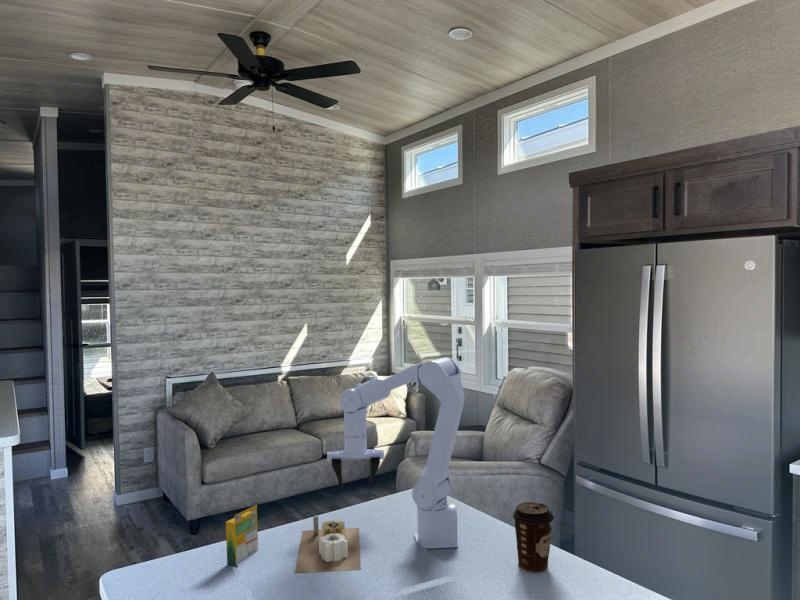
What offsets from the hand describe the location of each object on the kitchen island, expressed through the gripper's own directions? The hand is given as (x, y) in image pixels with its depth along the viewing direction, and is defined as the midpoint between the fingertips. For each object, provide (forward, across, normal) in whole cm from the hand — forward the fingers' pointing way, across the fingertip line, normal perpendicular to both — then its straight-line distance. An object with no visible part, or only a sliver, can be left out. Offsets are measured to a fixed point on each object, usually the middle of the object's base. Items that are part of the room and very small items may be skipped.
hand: (356, 487), depth 151 cm
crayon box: (+10, +26, +16) cm, 32 cm away
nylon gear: (+9, +6, +19) cm, 22 cm away
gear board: (+10, +6, +15) cm, 19 cm away
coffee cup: (+10, -38, +27) cm, 48 cm away
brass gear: (+9, +6, +11) cm, 15 cm away
